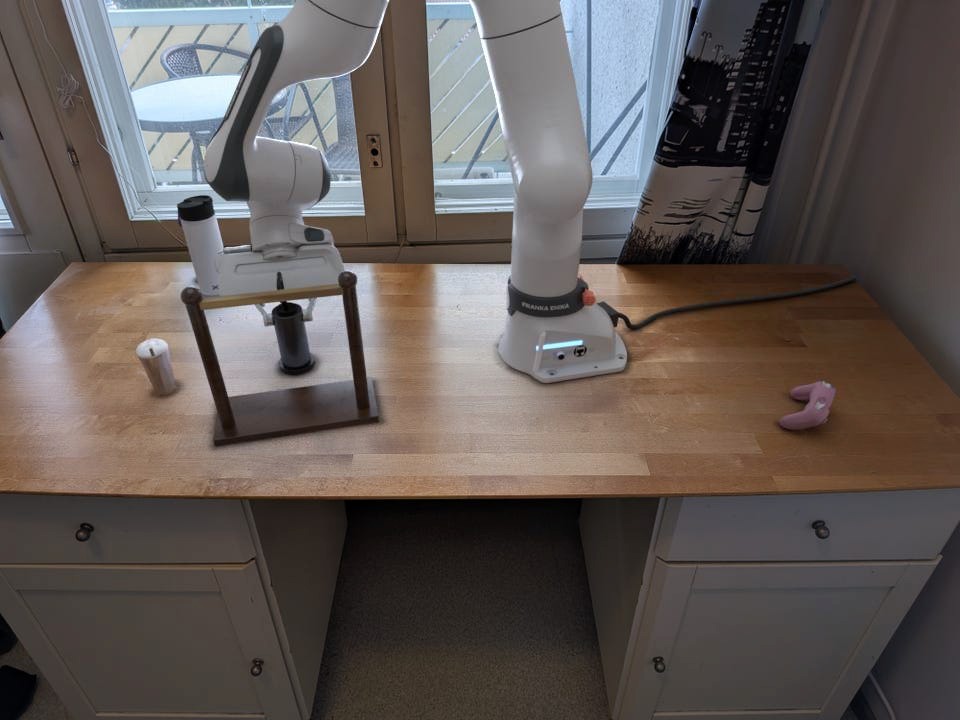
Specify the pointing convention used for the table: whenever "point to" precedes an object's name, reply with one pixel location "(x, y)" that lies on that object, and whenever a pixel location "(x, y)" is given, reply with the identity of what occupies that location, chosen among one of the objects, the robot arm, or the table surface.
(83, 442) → the table surface
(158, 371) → the milkshake
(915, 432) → the table surface
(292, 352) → the dark cylindrical piece
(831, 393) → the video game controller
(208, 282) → the travel mug
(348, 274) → the rack
